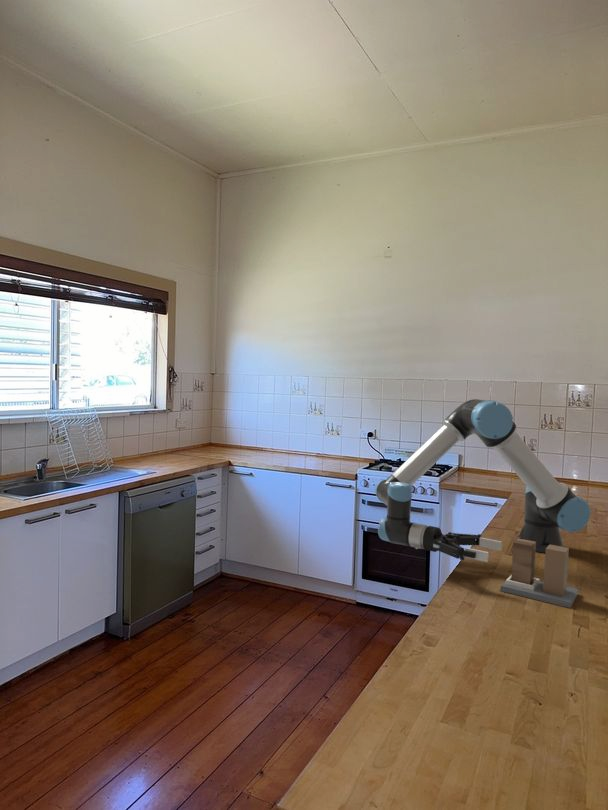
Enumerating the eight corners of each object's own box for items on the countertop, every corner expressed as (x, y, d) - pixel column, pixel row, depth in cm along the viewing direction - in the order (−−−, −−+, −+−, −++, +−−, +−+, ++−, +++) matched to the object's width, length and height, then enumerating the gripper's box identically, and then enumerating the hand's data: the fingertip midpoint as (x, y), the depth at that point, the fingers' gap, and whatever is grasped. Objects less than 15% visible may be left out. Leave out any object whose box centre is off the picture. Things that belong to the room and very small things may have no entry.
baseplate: (511, 579, 167) (514, 534, 166) (577, 594, 157) (580, 546, 156) (500, 591, 157) (503, 543, 156) (570, 608, 147) (573, 557, 146)
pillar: (515, 579, 163) (517, 538, 162) (533, 583, 160) (536, 541, 160) (510, 583, 159) (513, 542, 158) (529, 588, 156) (531, 545, 155)
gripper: (440, 540, 186) (505, 553, 174) (409, 559, 165) (481, 575, 153) (441, 518, 186) (507, 530, 174) (410, 534, 165) (482, 548, 153)
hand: (495, 551), depth 163 cm, fingers open, 13 cm apart
